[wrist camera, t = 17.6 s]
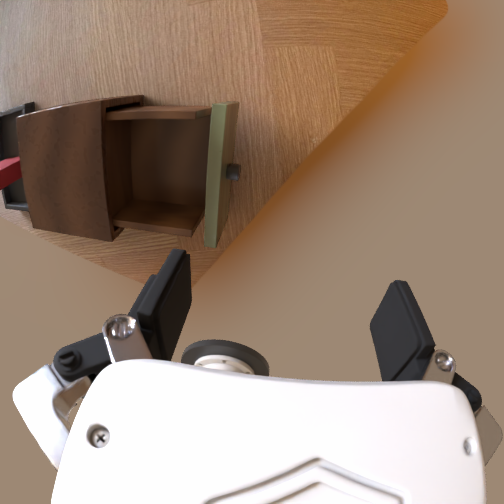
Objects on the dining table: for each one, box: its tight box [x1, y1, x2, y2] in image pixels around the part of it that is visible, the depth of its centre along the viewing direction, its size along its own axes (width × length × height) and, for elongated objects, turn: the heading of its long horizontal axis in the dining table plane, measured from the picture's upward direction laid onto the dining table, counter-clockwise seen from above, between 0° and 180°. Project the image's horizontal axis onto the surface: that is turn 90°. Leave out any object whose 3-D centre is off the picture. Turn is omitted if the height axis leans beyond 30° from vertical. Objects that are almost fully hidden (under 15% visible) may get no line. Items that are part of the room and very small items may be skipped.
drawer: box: [106, 101, 241, 248], centre depth 26 cm, size 14×13×7 cm
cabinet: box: [16, 95, 144, 242], centre depth 26 cm, size 14×15×9 cm
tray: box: [0, 102, 34, 211], centre depth 29 cm, size 18×11×2 cm, turn 173°
